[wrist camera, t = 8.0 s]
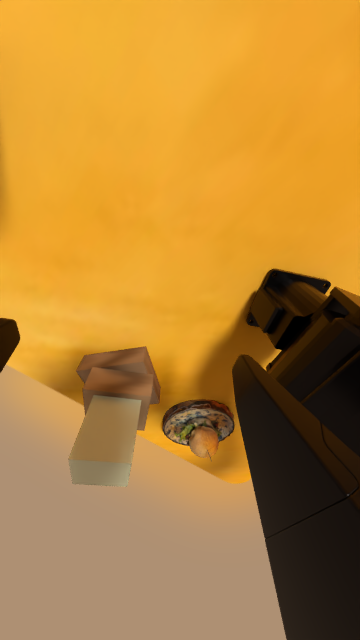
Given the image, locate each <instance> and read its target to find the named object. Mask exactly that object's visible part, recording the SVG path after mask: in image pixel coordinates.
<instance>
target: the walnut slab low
mask: <svg viewBox="0 0 360 640" xmlns="http://www.w3.org/2000/svg"><path fill="white" fill-rule="evenodd" d="M92 367H97V368H103V369H112V370H120V371H128V372H137V373H145V374H154V375H153V384H152V393H151V399H150V404H157V403H159V401H160V385H159V382H158V379H157V376H156V373H155V371H154V368H153V365H152V362H151V359H150V356H149V354H148V351H147V348H146V346H145V347H139V348H132V349H125V350H118V351H111V352H104V353H97V354H91V355H84V357H83V359H82V361H81V363H80V365H79V366H78V368H77V370H76V372H77V373H78V375H79V376H80V378H81V379H82V380H83V382H84V383H86V380H87V378H88V376H89V374H90V372H91V369H92Z"/></svg>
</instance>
